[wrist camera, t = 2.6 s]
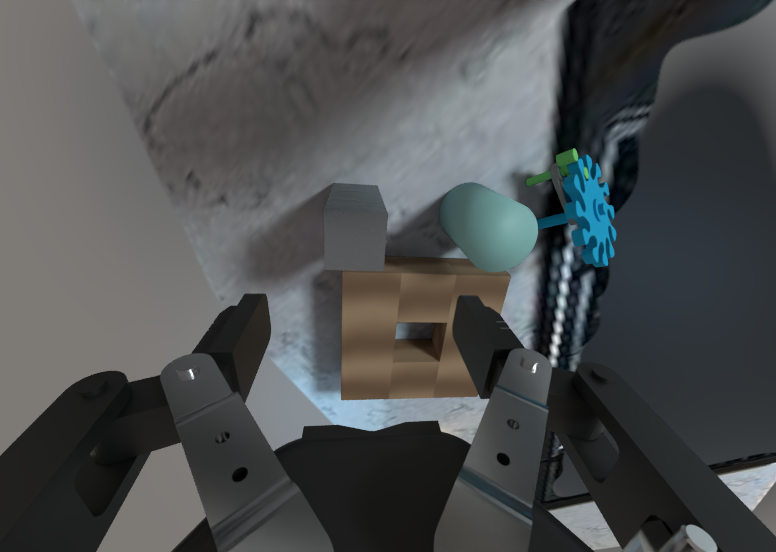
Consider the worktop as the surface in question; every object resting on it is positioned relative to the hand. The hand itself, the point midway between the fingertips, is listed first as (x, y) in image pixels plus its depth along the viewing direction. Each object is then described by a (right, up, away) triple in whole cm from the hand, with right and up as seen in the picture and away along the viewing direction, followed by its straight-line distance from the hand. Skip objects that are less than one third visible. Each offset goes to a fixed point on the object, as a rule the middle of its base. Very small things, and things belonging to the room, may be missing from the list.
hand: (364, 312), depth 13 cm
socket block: (+4, -4, +22) cm, 23 cm away
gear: (+19, +9, +18) cm, 27 cm away
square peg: (-2, +8, +16) cm, 18 cm away
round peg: (+9, +8, +17) cm, 21 cm away
